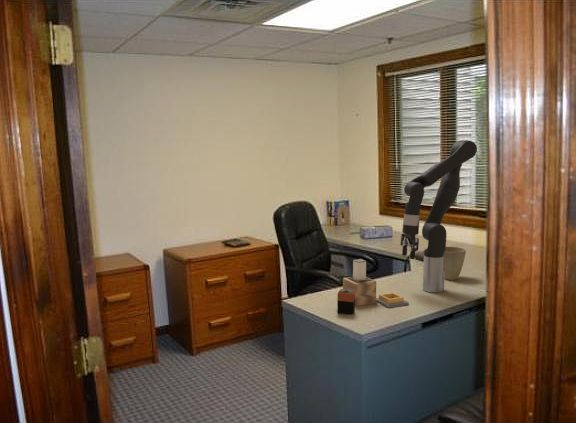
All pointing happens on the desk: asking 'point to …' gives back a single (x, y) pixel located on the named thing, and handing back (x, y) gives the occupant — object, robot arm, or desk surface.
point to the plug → (359, 269)
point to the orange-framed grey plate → (391, 300)
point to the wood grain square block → (361, 290)
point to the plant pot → (453, 262)
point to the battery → (346, 302)
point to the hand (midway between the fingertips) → (408, 257)
